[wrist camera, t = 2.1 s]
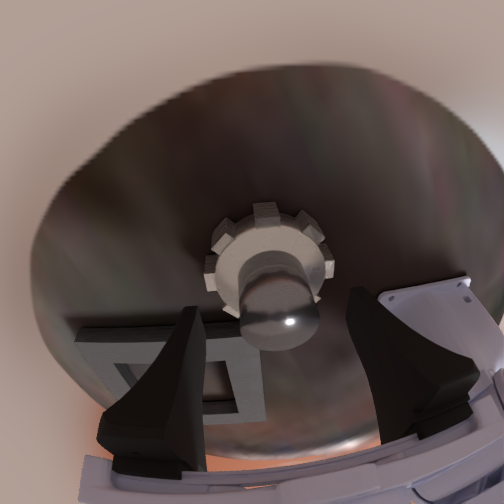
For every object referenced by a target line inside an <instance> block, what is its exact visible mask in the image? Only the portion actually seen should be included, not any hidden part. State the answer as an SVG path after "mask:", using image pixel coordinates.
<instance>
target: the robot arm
mask: <svg viewBox="0 0 504 504" xmlns="http://www.w3.org/2000/svg"><path fill="white" fill-rule="evenodd" d="M470 281H471V279H470V277H469V276H463V277H459V278H454V279H449V280H444V281H440V282H435V283H429V284H424V285H419V286H414V287H408V288H403V289H397V290H392V291H386V292H383V293H381V294H380V295H379V297H378V300H377V299H376V298H375V297H374V296H373V295H371V294H370V293H369V292H368V291H367V290H366V289H365V288H364V287H363V286H361V287H355V288H351V290H350V296H349V302H348V307H347V313H346V322H347V326H348V329H349V333H350V336H351V338H352V341H353V343H354V346H355V348H356V350H357V353H358V355H359V358H360V360H361V362H362V365H363V367H364V369H365V372H366V375H367V378H368V381H369V385H370V388H371V392H372V396H373V400H374V405H375V409H376V414H377V420H378V425H379V432H380V440H381V445H380V446H377V447H373V448H370V449H366V450H363V451H359V452H355V453H351V454H347V455H343V456H339V457H334V458H330V459H325V460H320V461H315V462H309V463H303V464H297V465H291V466H283V467H275V468H266V469H256V470H242V471H220V472H207V466H206V457H205V446H204V432H203V409H202V396H203V384H204V373H205V363H206V334H205V330H204V326H203V323H202V319H201V315H200V312H199V308H198V306H188V307H184V309H183V311H182V313H181V315H180V317H179V319H178V321H177V323H176V325H175V327H174V329H173V331H172V333H171V334H170V336H169V338H168V340H167V342H166V343H165V345H164V346H163V348H162V350H161V351H160V353H159V354H158V356H157V357H156V359H155V360H154V362H153V363H152V364H151V366H150V367H149V368H148V370H147V371H146V372H145V373H144V375H143V376H142V377H141V378H140V379H139V380H138V382H137V383H136V384H135V385H134V386H133V387H132V388H131V389H130V390H129V391H128V392H127V393H126V394H125V395H124V396H123V397H122V398H121V399H119V400H118V401H117V402H116V403H115V404H113V405H112V406H111V407H110V408H108V409H107V410H106V411H105V412H103V414H102V417H101V419H100V423H99V428H98V433H97V438H96V439H97V441H98V443H99V444H100V445H101V446H102V447H104V448H105V449H106V450H108V451H109V452H110V453H112V454H113V455H114V458H113V461H112V460H109V459H105V458H100V457H94V456H89V455H85V456H84V462H83V468H82V475H81V481H80V488H79V496H78V501H79V502H81V503H83V504H411V502H410V500H412V501H413V502H414V503H415V504H504V335H503V333H502V331H501V330H500V328H499V327H498V325H497V324H496V323H495V321H494V320H493V318H492V317H491V316H490V314H489V313H488V312H487V310H486V309H485V308H484V307H483V305H482V304H481V303H480V301H479V300H478V299H477V298H476V296H475V295H474V294H473V293H472V291H471V290H470V289H469V288H468V287H469V284H470ZM274 484H277V485H274ZM265 485H271V486H265ZM253 486H265V487H259V488H252V489H246V488H244V487H253Z"/></svg>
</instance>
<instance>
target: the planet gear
mask: <svg viewBox="0 0 504 504" xmlns="http://www.w3.org/2000/svg"><path fill="white" fill-rule="evenodd" d="M324 239H325V236H324V234H323V232H322V230H321V229H320V227H319V225H318V223H317V222H316V221H315V220H314V219H313V218H312V217H310V216H309V215H308V214H307V213H306V212H305V211H303V210H301V211H300V213H299V214H298V215H297V216H296V217H293V216H291V215H288V214H285V213H280V212H279V211H278V208H277V206H276V203H275V202H264V203H254V204H253V214H252V215H249V216H246V217H244V218H242V219H240V220H239V221H237V222H236V223H234V222H233V221H231V220H230V219H228V218H227V217H225V218H224V220H223V221H222V222H221V223H220V224H219V225H218V226H217V228H216V229H215V230H214V231H213V233H212V244H211V250H213V251H214V252H216V255H207V256H206V258H205V268H204V277H205V282H206V287H207V291H218V293H219V295H220V296H221V298H222V310H224V311H226V312H227V313H229V314H231V315H233V316H235V317H237V318H239V317H240V331H241V334H242V336H243V338H244V340H245V341H246V342H247V343H249V344H250V345H251V346H253V347H255V348H258V349H261V350H266V351H282V350H288V349H291V348H294V347H297V346H299V345H301V344H303V343H304V342H306V341H307V340H308V339H310V338H311V337H312V336H313V335H314V333H315V332H316V330H317V329H318V326H319V323H320V315H319V312H318V309H317V306H316V302H317V301H319V300H320V299H321V297H320V295H319V290H320V288H321V286H322V284H323V282H324V279H327V278H333V273H334V263H335V260H334V258H333V256H332V254H331V252H330V250H329V248H328V246H327V245H326V243H325V244H320V243H321V242H322V241H323V240H324Z"/></svg>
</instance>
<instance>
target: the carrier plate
mask: <svg viewBox="0 0 504 504" xmlns="http://www.w3.org/2000/svg"><path fill="white" fill-rule="evenodd" d="M203 326H204V330H205V334H206V362H210V361H226V365H227V369H228V373H229V377H230V381H231V385H232V389H233V393H234V396H235V401H218V402H202V409H203V425H212V424H233V423H247V422H259V421H266V414H265V404H264V393H263V383H262V373H261V363H260V352H259V349H258V348H255V347H253V346H251V345H250V344H249V343H247V342H246V341H245V340H244V338H243V336H242V334H241V331H240V321H231V322H219V323H207V324H203ZM174 327H175V326H158V327H133V328H80V329H79V332H78V334H77V336H76V339H75V341H74V343H75V344H76V346H77V347H78V349H79V350H80V352H81V353H82V355H83V356H84V358H85V359H86V360H87V362H88V363H89V365H90V366H91V367H92V369H93V370H94V371H95V373H96V374H97V375H98V377H99V378H100V379H101V381H102V382H103V383H104V385H105V386H106V387H107V388H108V390H109V391H110V392H111V393H112V395H113V396H114V397H115V398H116V399H117V401H118V400H119V399H121V398H122V397H123V396H124V395H125V394H126V393H127V392H128V391H129V390H130V389H131V388H132V387H133V386H134V385H135V384H136V383H137V382H138V381H137V380H136V378H135V377H134V375H133V374H132V372H131V371H130V369H129V367H128V366H127V364H126V363H130V364H152V363H153V362H154V360H155V359H156V357H157V356H158V354H159V353H160V351H161V350H162V348H163V346H164V345H165V343H166V342H167V340H168V338H169V336H170V334H171V333H172V331H173V329H174Z"/></svg>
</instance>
